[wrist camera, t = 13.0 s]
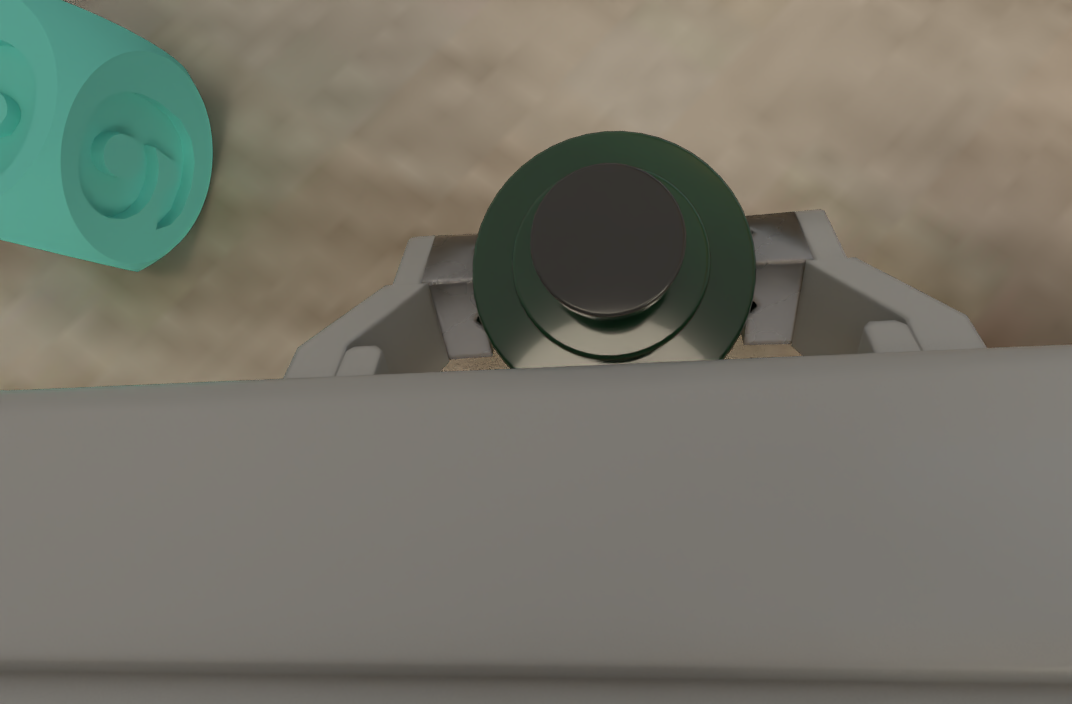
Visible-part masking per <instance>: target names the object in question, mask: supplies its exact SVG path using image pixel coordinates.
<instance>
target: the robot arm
mask: <svg viewBox="0 0 1072 704" xmlns="http://www.w3.org/2000/svg"><path fill="white" fill-rule="evenodd" d="M746 218H747V221H748V223H749V226H750V230H751V233H752V237H753V241H754V247H755V255H756V285H755V291H754V298H753V302H752V306H751V309H750V312H749V316H748V319H747V321H746V323H745V325H744V328H743V330H742V332H741V335H742V339H743V343H744V345H761V344H792V347H793V348H795V349H796V350H797V351H798V352H799V353H800V354H801V355H803V356H793V357H770V358H747V359H724V360H701V361H678V362H655V363H632V364H609V365H586V366H563V367H540V368H517V369H494V370H471V371H448V372H440V371H441V370H442V369H443V368H444V367H445V366H446V365H447V364H448V363H449V359H462V358H476V357H490V356H492V354H493V346H492V344H491V342H490V341H489V339H488V337H487V335H486V333H485V331H484V329H483V326H482V324H481V321H480V318H479V316H478V312H477V308H476V304H475V300H474V294H473V284H472V261H473V254H474V248H475V242H476V239H477V236H478V234H459V235H438V236H435V235H433V236H421V237H412V238H410V239H409V240H408V243H407V246H406V248H405V251H404V254H403V257H402V260H401V262H400V265H399V268H398V271H397V274H396V276H395V279H394V282H393V285H386V286H384V287H383V288H381V289H380V290H378V291H377V292H376V293H374V294H373V295H371V296H370V297H369V298H367V299H366V300H364V301H363V302H361V303H360V304H359V305H357V306H356V307H354V308H353V309H352V310H350V311H349V312H347V313H346V314H345V315H343V316H342V317H340V318H339V319H337V320H336V321H335V322H333V323H332V324H330V325H329V326H328V327H326V328H325V329H323V330H322V331H320V332H319V333H318V334H316V335H315V336H313V337H312V338H311V339H309V340H308V341H306V342H305V343H304V344H302V345H301V346H299V347H298V348H297V350H296V352H295V354H294V357H293V359H292V361H291V363H290V365H289V367H288V369H287V371H286V373H285V376H284V378H283V379H264V380H241V381H218V382H195V383H171V384H148V385H125V386H102V387H79V388H55V389H32V390H0V704H1072V344H1070V345H1047V346H1023V347H1000V348H987V347H986V346H985V344H984V342H983V341H982V339H981V337H980V336H979V334H978V333H977V331H976V329H975V328H974V326H973V325H972V323H971V321H970V320H969V318H968V316H967V315H965V314H963V313H961V312H959V311H957V310H955V309H953V308H952V307H950V306H948V305H946V304H944V303H942V302H940V301H938V300H936V299H934V298H932V297H930V296H928V295H927V294H925V293H923V292H921V291H919V290H917V289H915V288H913V287H911V286H909V285H907V284H905V283H903V282H902V281H900V280H898V279H896V278H894V277H892V276H890V275H888V274H886V273H884V272H882V271H880V270H878V269H877V268H875V267H873V266H871V265H869V264H867V263H865V262H863V261H861V260H859V259H857V258H847V256H846V254H845V252H844V250H843V248H842V246H841V244H840V242H839V240H838V238H837V236H836V233H835V231H834V229H833V227H832V225H831V223H830V221H829V219H828V217H827V215H826V213H825V211H824V210H822V209H815V210H805V211H796V212H786V213H775V214H764V215H753V216H746Z"/></svg>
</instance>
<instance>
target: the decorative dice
mask: <svg viewBox="0 0 1072 704" xmlns="http://www.w3.org/2000/svg"><path fill="white" fill-rule="evenodd" d="M212 161H213V145H212V134H211V127H210V123H209V118H208V115H207V111H206V108H205V105H204V103H203V100H202V98H201V96H200V94H199V92H198V90H197V88H196V86H195V84H194V83H193V81H192V79H191V77H190V75H189V74H188V72H187V70H186V69H185V68H184V67H183V66H182V65H181V64H180V63H179V62H178V61H177V60H176V59H174V58H173V57H172V56H170V55H169V54H167V53H166V52H165V51H163V50H162V49H160V48H158V47H157V46H155V45H154V44H152V43H150V42H149V41H147V40H145V39H143V38H142V37H140V36H138V35H136V34H134V33H133V32H131V31H129V30H127V29H125V28H123V27H121V26H119V25H117V24H115V23H113V22H111V21H109V20H107V19H104V18H102V17H100V16H98V15H96V14H93V13H91V12H89V11H86V10H84V9H82V8H79V7H77V6H75V5H72V4H70V3H67V2H65V1H62V0H0V240H4V241H8V242H12V243H16V244H20V245H24V246H28V247H33V248H37V249H41V250H45V251H49V252H53V253H57V254H62V255H66V256H70V257H74V258H78V259H83V260H87V261H91V262H95V263H100V264H104V265H108V266H113V267H117V268H122V269H126V270H131V271H136V272H138V271H140V270H142V269H144V268H146V267H148V266H150V265H151V264H153V263H154V262H156V261H158V260H159V259H161V258H162V257H164V256H165V255H166V254H167V253H169V252H170V251H171V250H172V249H173V248H174V247H175V246H176V245H177V244H179V243H180V242H181V240H182V239H183V238H184V237H185V236H186V235H187V233H188V232H189V231H190V229H191V228H192V226H193V224H194V223H195V221H196V219H197V217H198V215H199V214H200V211H201V209H202V207H203V204H204V201H205V199H206V195H207V192H208V188H209V184H210V178H211V172H212Z"/></svg>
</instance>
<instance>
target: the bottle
mask: <svg viewBox="0 0 1072 704" xmlns="http://www.w3.org/2000/svg"><path fill="white" fill-rule="evenodd" d="M472 284H473V294H474V300H475V304H476V308H477V312H478V316H479V318H480V321H481V324H482V326H483V329H484V331H485V333H486V335H487V337H488V339H489V341H490V342H491V344H492V346H493V348H494V349H495V350H496V352H497V353H498V355H499V356H500V357H501V359H502V360H503V362H504V363H505V364H506V365H507V366H508V367H509V368H510V369H517V368H540V367H563V366H586V365H609V364H632V363H655V362H678V361H701V360H724V358H725V357H726V356H727V355H728V353H729V352H730V351H731V349H732V348H733V346H734V344H735V343H736V341H737V339H738V338H739V336H740V334H741V332H742V330H743V328H744V325H745V323H746V321H747V319H748V316H749V312H750V309H751V306H752V302H753V298H754V291H755V285H756V255H755V247H754V241H753V237H752V233H751V230H750V226H749V223H748V221H747V218H746V216H745V214H744V211H743V209H742V207H741V205H740V203H739V202H738V200H737V198H736V197H735V195H734V193H733V191H732V190H731V189H730V188H729V186H728V185H727V184H726V183H725V181H724V180H723V179H722V178H721V176H720V175H719V174H717V173H716V172H715V171H714V170H713V169H712V168H711V167H710V166H709V165H708V164H707V163H706V162H704V161H703V160H702V159H700V158H699V157H697V156H696V155H695V154H693V153H692V152H690V151H688V150H686V149H684V148H683V147H681V146H679V145H677V144H675V143H672V142H670V141H667V140H665V139H662V138H659V137H655V136H651V135H647V134H643V133H636V132H627V131H604V132H597V133H590V134H585V135H581V136H578V137H574V138H570V139H567V140H565V141H563V142H560V143H558V144H556V145H553V146H551V147H549V148H548V149H546V150H544V151H542V152H541V153H539V154H537V155H536V156H534V157H533V158H532V159H530V160H529V161H528V162H526V163H525V164H524V165H523V166H521V167H520V168H519V169H518V170H517V171H516V172H515V173H514V174H513V175H512V176H511V177H510V178H509V179H508V180H507V181H506V183H505V184H504V185H503V187H502V188H501V189H500V190H499V192H498V193H497V194H496V196H495V198H494V199H493V201H492V203H491V204H490V206H489V208H488V209H487V212H486V214H485V216H484V219H483V221H482V223H481V225H480V229H479V232H478V236H477V239H476V242H475V248H474V254H473V261H472Z"/></svg>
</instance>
